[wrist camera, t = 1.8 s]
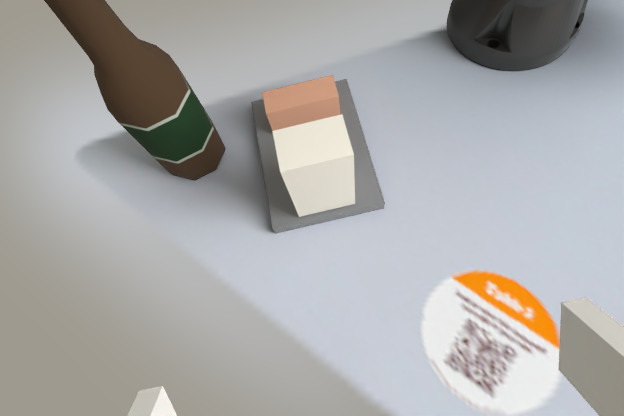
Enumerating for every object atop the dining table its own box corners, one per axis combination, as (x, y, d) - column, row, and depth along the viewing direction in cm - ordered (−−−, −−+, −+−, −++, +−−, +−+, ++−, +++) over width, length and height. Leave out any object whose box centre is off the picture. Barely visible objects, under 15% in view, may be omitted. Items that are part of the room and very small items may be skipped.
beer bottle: (168, 132, 47) (-2, -70, 25) (227, 123, 46) (107, -92, 24) (164, 186, 44) (-34, 11, 22) (227, 177, 43) (89, -12, 21)
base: (346, 87, 46) (346, 79, 45) (383, 208, 39) (384, 202, 38) (254, 109, 47) (251, 102, 45) (275, 233, 40) (272, 228, 38)
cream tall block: (346, 170, 40) (342, 114, 30) (355, 203, 38) (353, 154, 29) (292, 183, 40) (272, 131, 31) (299, 216, 38) (280, 172, 29)
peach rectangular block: (334, 98, 44) (332, 74, 40) (340, 118, 43) (338, 96, 39) (270, 114, 44) (262, 92, 40) (274, 134, 43) (266, 113, 39)
